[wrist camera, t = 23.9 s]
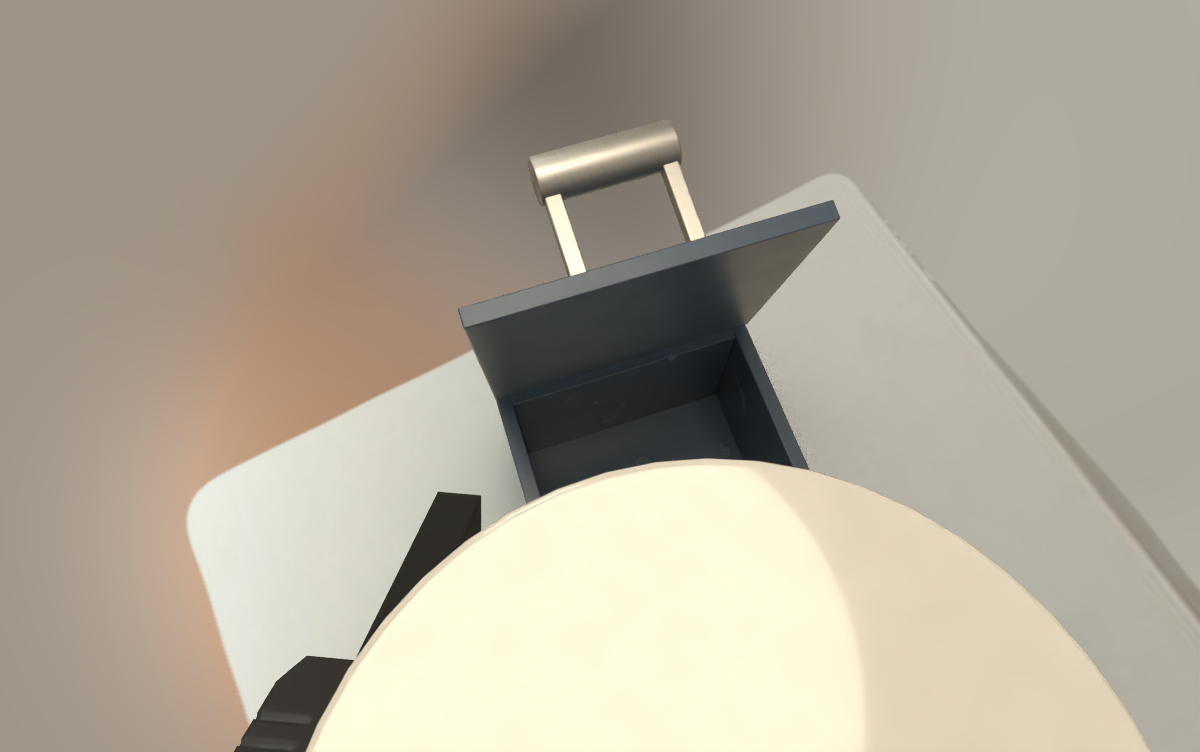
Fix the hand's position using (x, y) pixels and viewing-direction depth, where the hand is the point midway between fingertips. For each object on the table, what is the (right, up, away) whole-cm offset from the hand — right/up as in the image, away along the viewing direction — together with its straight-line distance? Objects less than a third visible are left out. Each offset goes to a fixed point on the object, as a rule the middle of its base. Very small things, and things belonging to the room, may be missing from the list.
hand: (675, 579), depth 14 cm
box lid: (0, +6, +22) cm, 23 cm away
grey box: (+2, -5, +36) cm, 37 cm away
